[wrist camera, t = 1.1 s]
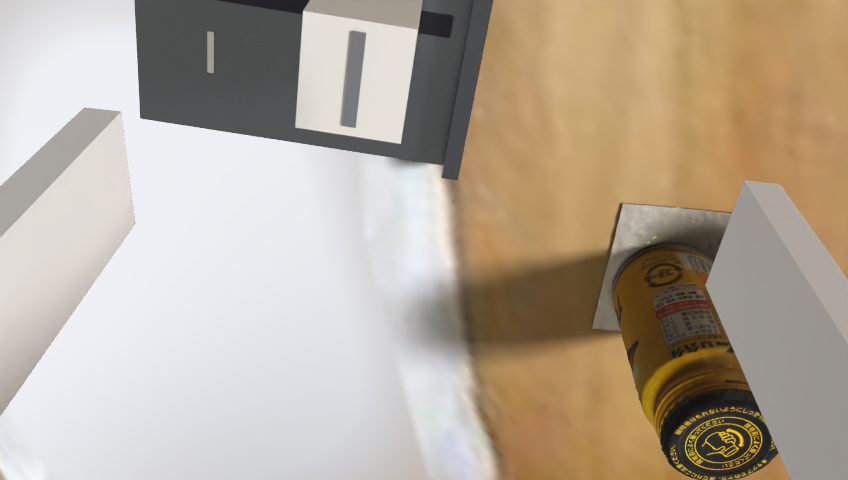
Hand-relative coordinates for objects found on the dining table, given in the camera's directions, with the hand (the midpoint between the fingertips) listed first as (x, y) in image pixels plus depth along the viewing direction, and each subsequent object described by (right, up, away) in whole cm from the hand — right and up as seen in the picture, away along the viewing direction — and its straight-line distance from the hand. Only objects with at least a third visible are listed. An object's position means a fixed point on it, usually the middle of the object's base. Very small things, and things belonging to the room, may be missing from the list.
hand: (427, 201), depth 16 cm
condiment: (+14, -3, +27) cm, 30 cm away
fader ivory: (-2, +9, +18) cm, 20 cm away
